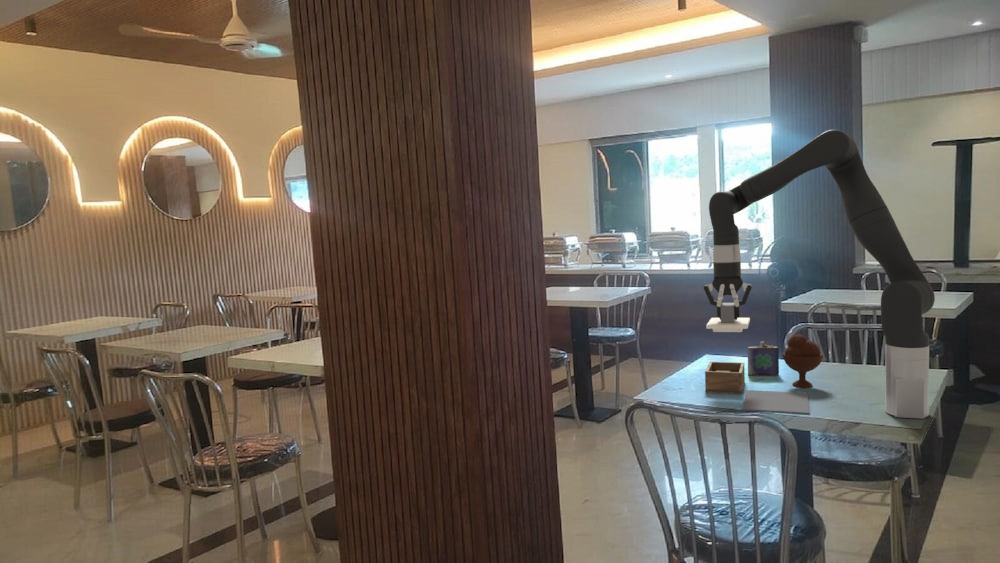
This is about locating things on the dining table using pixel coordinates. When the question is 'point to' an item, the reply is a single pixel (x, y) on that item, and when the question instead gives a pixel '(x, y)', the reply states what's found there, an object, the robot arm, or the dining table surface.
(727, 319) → the lid
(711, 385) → the storage box
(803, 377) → the ice cream bowl
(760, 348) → the flask
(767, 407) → the rubber mat
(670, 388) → the dining table surface
